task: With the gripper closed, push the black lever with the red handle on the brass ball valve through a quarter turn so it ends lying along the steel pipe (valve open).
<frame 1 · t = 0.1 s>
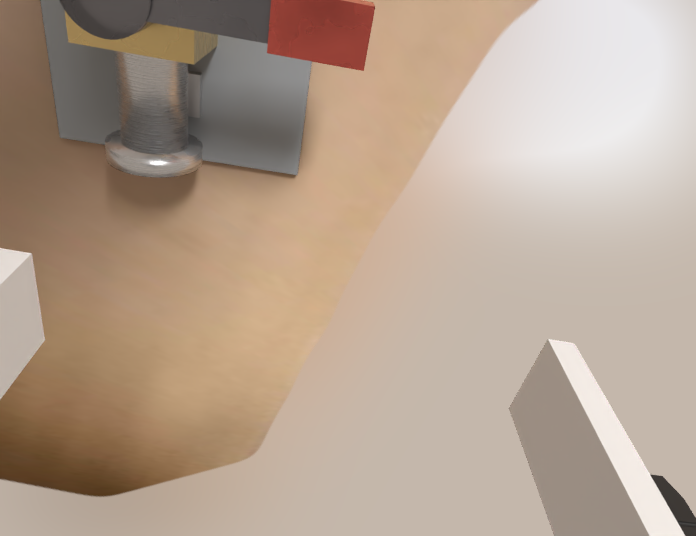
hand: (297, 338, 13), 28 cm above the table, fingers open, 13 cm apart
lever: (220, 8, 25), point 10 cm above the table, hinge at 90.0°
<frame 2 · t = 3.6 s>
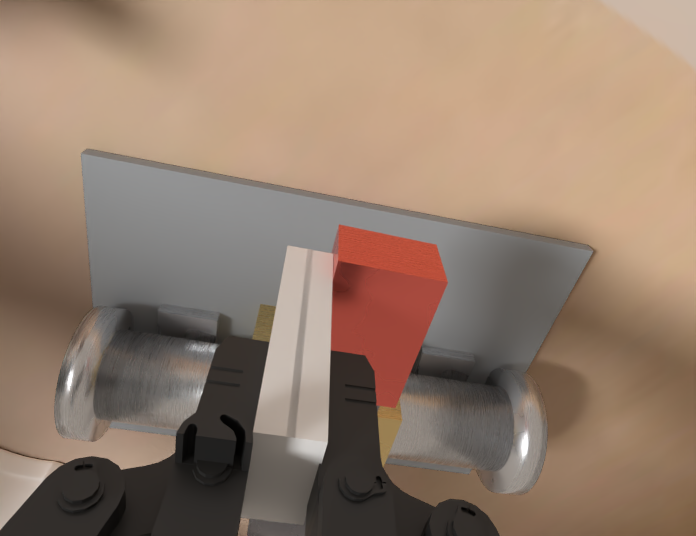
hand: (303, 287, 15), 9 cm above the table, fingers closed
jar: (12, 486, 36), on the table
mat: (318, 342, 28), on the table
valve: (315, 355, 29), resting on mat
lever: (332, 428, 18), point 9 cm above the table, hinge at 88.6°, touching gripper
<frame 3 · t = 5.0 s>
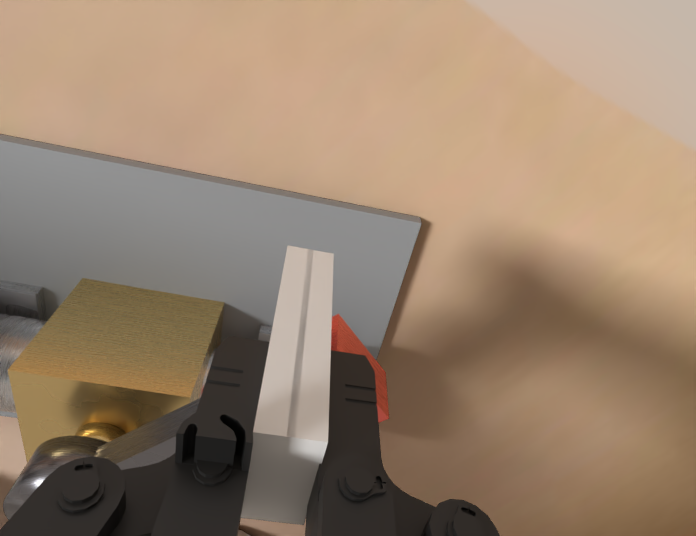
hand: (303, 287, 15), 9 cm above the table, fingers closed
mat: (158, 320, 27), on the table
valve: (157, 334, 28), resting on mat
lever: (181, 447, 18), point 10 cm above the table, hinge at 44.1°, touching gripper
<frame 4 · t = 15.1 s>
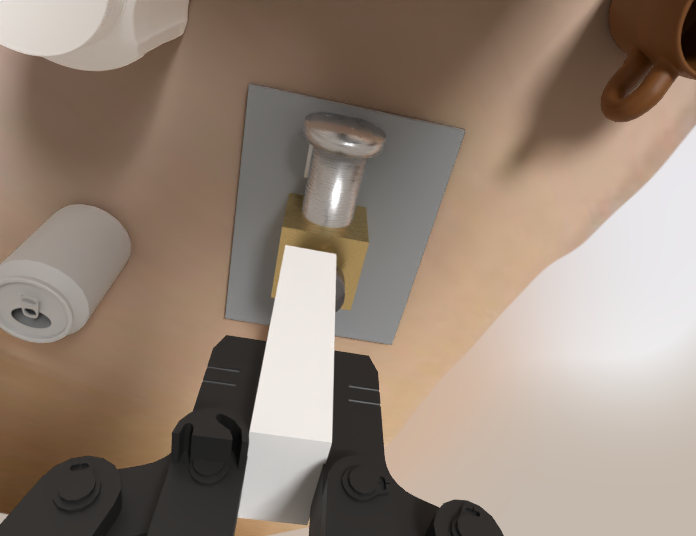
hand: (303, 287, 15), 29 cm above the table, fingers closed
mat: (331, 232, 48), on the table
valve: (321, 230, 47), resting on mat
mug: (630, 28, 38), on the table
can: (95, 234, 48), on the table
lever: (311, 340, 42), point 9 cm above the table, hinge at 5.0°
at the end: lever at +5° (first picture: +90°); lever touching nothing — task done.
